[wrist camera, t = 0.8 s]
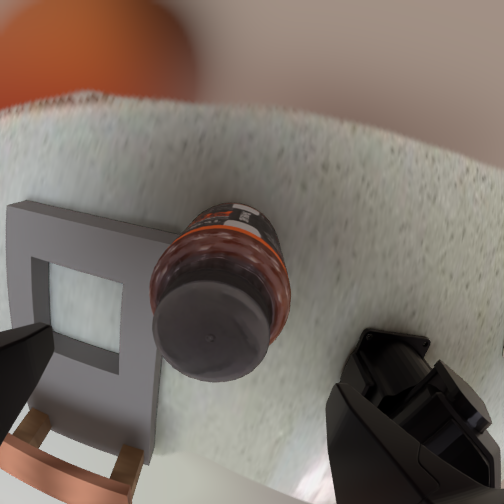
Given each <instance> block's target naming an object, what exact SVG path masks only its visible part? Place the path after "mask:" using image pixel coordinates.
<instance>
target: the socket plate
mask: <svg viewBox="0 0 504 504" xmlns="http://www.w3.org/2000/svg"><path fill="white" fill-rule="evenodd" d="M178 236H179V235H178V234H173V233H169V232H165V231H160V230H156V229H151V228H147V227H143V226H138V225H134V224H129V223H125V222H120V221H116V220H112V219H107V218H103V217H98V216H94V215H89V214H85V213H81V212H76V211H72V210H67V209H63V208H58V207H54V206H50V205H45V204H41V203H36V202H32V201H27V200H25V201H22V202H18V203H14V204H10V205H7V210H6V268H7V285H8V297H9V307H10V315H11V323H12V329H14V328H18V327H22V326H26V325H30V324H34V323H38V322H43V323H46V324H49V325H51V322H50V305H49V262H51V263H54V264H57V265H60V266H64V267H67V268H70V269H74V270H77V271H80V272H84V273H87V274H91V275H94V276H98V277H101V278H105V279H108V280H112V281H116V282H119V283H123V292H122V306H121V322H120V347H119V354H117V353H114V352H110V351H107V350H104V349H101V348H98V347H95V346H92V345H89V344H86V343H83V342H80V341H78V340H75V339H72V338H69V337H67V336H64V335H61V334H59V333H56V332H53V337H54V345H55V350H54V353H53V355H52V357H51V359H50V361H49V363H48V365H47V367H46V369H45V371H44V373H43V375H42V377H41V379H40V381H39V383H38V384H37V386H36V388H35V390H34V391H33V393H32V394H31V396H30V398H29V399H28V401H27V403H28V406H29V409H30V410H31V408H35V409H37V410H39V411H41V412H43V413H45V414H47V415H48V416H49V420H50V424H51V427H52V428H51V429H50V430H52V431H54V432H57V433H59V434H61V435H63V436H66V437H68V438H70V439H73V440H75V441H78V442H80V443H83V444H85V445H88V446H91V447H93V448H96V449H99V450H102V451H104V452H107V453H110V454H113V455H116V456H119V453H120V451H121V448H122V446H123V444H125V445H128V446H131V447H135V448H138V449H141V450H144V463H143V464H145V465H149V463H150V460H151V457H152V454H153V450H154V444H155V429H156V415H157V403H158V392H159V381H160V371H161V362H162V355H161V353H160V352H159V350H158V349H157V346H156V344H155V341H154V337H153V332H152V323H153V313H152V310H151V305H150V297H149V286H150V280H151V275H152V273H153V270H154V267H155V266H156V264H157V262H158V260H159V258H160V257H161V256H162V254H163V253H164V251H165V250H166V249H167V248H168V247H169V246H170V245H171V244H172V243H173V241H174V240H175V239H176V238H177V237H178Z"/></svg>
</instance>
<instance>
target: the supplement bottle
mask: <svg viewBox="0 0 504 504" xmlns="http://www.w3.org/2000/svg"><path fill="white" fill-rule="evenodd" d="M149 297H150V305H151V310H152V313H153V323H152V332H153V337H154V341H155V344H156V346H157V349H158V350H159V352H160V353H161V355H162V356H163V357H164V359H165V360H166V361H167V362H168V363H169V364H170V365H172V367H173V368H174V369H176V370H178V371H179V372H181V373H182V374H184V375H186V376H188V377H190V378H194V379H197V380H200V381H207V382H227V381H231V380H236V379H238V378H241V377H243V376H245V375H247V374H249V373H250V372H252V371H253V370H254V369H255V368H256V367H257V366H258V365H259V364H260V363H261V361H262V360H263V359H264V357H265V355H266V353H267V350H268V347H269V345H270V344H272V343H273V341H274V340H276V338H277V337H278V335H279V334H280V333H281V331H282V329H283V327H284V325H285V323H286V321H287V318H288V315H289V311H290V302H291V289H290V283H289V279H288V274H287V270H286V266H285V263H284V259H283V255H282V252H281V248H280V244H279V240H278V237H277V234H276V232H275V230H274V228H273V226H272V225H271V223H270V221H269V220H268V219H267V218H266V217H265V216H264V215H263V214H262V213H260V212H259V211H257V210H256V209H254V208H252V207H250V206H247V205H244V204H239V203H224V204H220V205H217V206H214V207H212V208H210V209H208V210H206V211H204V212H202V213H201V214H200V215H198V216H197V218H196V219H194V220H193V222H192V223H191V224H190V225H189V226H188V227H187V228H186V229H185V230H184V231H183V232H182V233H181V234H180V235H179V236H178V237H177V238H176V239H175V240H174V241H173V243H172V244H171V245H170V246H169V247H168V248H167V249H166V250H165V251H164V253H163V254H162V256H161V257H160V258H159V260H158V262H157V264H156V266H155V267H154V270H153V273H152V275H151V280H150V286H149Z"/></svg>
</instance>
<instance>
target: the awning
mask: <svg viewBox="0 0 504 504" xmlns="http://www.w3.org/2000/svg"><path fill="white" fill-rule="evenodd" d="M51 428H52V427H51V424H50V420H49V416H48V415H47V414H45V413H43V412H41V411H39V410H37V409H35V408H31V410H30V411H29V412H28V414H27V415H26V416H25V418H24V419H23V420H22V422H21V423H20V425H19V426H18V427H17V429H16V430H15V431H14V433H13V434H12V435H11V434H10V433H8V434H7V436H6V437H5V439H4V441H3V443H2V444H1V446H0V468H1V469H2V470H4V471H6V472H7V473H9V474H11V475H12V476H14V477H16V478H18V479H19V480H21V481H23V482H25V483H26V484H28V485H30V486H32V487H34V488H36V489H38V490H40V491H42V492H44V493H46V494H48V495H50V496H52V497H54V498H56V499H58V500H60V501H63V502H65V503H67V504H132V498H133V495H134V492H135V489H136V485H137V482H138V479H139V476H140V472H141V469H142V466H143V463H144V450H141V449H138V448H135V447H131V446H128V445H125V444H123V446H122V448H121V451H120V453H119V456H118V458H117V461H116V463H115V466H114V468H113V471H112V474H111V476H110V479H108V478H106V477H103V476H100V475H98V474H95V473H92V472H90V471H87V470H85V469H82V468H79V467H77V466H75V465H72V464H70V463H68V462H65V461H63V460H60V459H59V458H56V457H54V456H52V455H50V454H48V453H46V452H44V451H42V450H40V449H39V447H40V445H41V444H42V442H43V440H44V439H45V437H46V435H47V434H48V432H49V431H50V429H51Z"/></svg>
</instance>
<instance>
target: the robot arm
mask: <svg viewBox="0 0 504 504" xmlns="http://www.w3.org/2000/svg"><path fill="white" fill-rule="evenodd" d="M368 334H371V335H370V336H369V337H366V336H367V335H368ZM425 342H426V343H425ZM424 343H425V344H424ZM430 343H431V342H430V340H429V339H428V338H427V337H422V336H415V335H408V334H401V333H395V332H388V331H382V330H375V329H366V330H364V331H363V333H362V335H361V337H360V340H359V342H358V344H357V347H356V349H355V351H354V353H352V354H351V356H350V358H349V361H348V363H347V365H346V367H345V369H344V372H343V374H342V376H341V378H340V380H341V382H340V383H336V384H335V385H334V386H333V388H332V391H331V393H330V396H329V398H328V401H327V403H326V427H327V446H328V455H329V461H330V467H331V472H332V478H333V484H334V490H335V497H336V503H337V504H504V489H501V457H500V448H499V446H498V444H497V443H496V442H495V440H494V439H493V438H492V436H491V435H490V434H489V432H488V431H487V430H486V429H487V428H488V427H489V426H490V425H491V424H492V421H491V418H490V416H489V413H488V411H487V409H486V406H485V404H484V402H483V401H482V400H481V398H480V397H479V396H478V395H477V394H476V393H475V391H474V390H473V389H472V388H471V387H470V386H469V385H468V383H467V382H465V381H464V380H463V379H462V378H461V377H460V376H458V375H457V374H456V373H455V372H454V371H453V370H452V369H450V368H449V367H448V366H447V365H446V364H445V363H443V362H442V361H441V360H440V359H439V361H438V362H437V363H436V364H435V365H434V366H435V367H434V368H433V369H432V368H431V367H430V366H429V364H428V363H427V362H426V361H425V359H424V356H425V354H426V352H427V350H428V348H429V346H430ZM423 344H424V345H423ZM54 350H55V345H54V337H53V329H52V327H51V325H49V324H46V323H43V322H38V323H34V324H30V325H26V326H22V327H18V328H14V329H10V330H6V331H2V332H0V446H1V444H2V443H3V441H4V439H5V437H6V436H7V434H8V432H9V430H10V429H11V427H12V425H13V423H14V422H15V420H16V419H17V417H18V415H19V414H20V412H21V410H22V409H23V407H24V406H25V404H26V402H27V401H28V399H29V398H30V396H31V394H32V393H33V391H34V390H35V388H36V386H37V384H38V383H39V381H40V379H41V377H42V375H43V373H44V371H45V369H46V367H47V365H48V363H49V361H50V359H51V357H52V355H53V353H54Z"/></svg>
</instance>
